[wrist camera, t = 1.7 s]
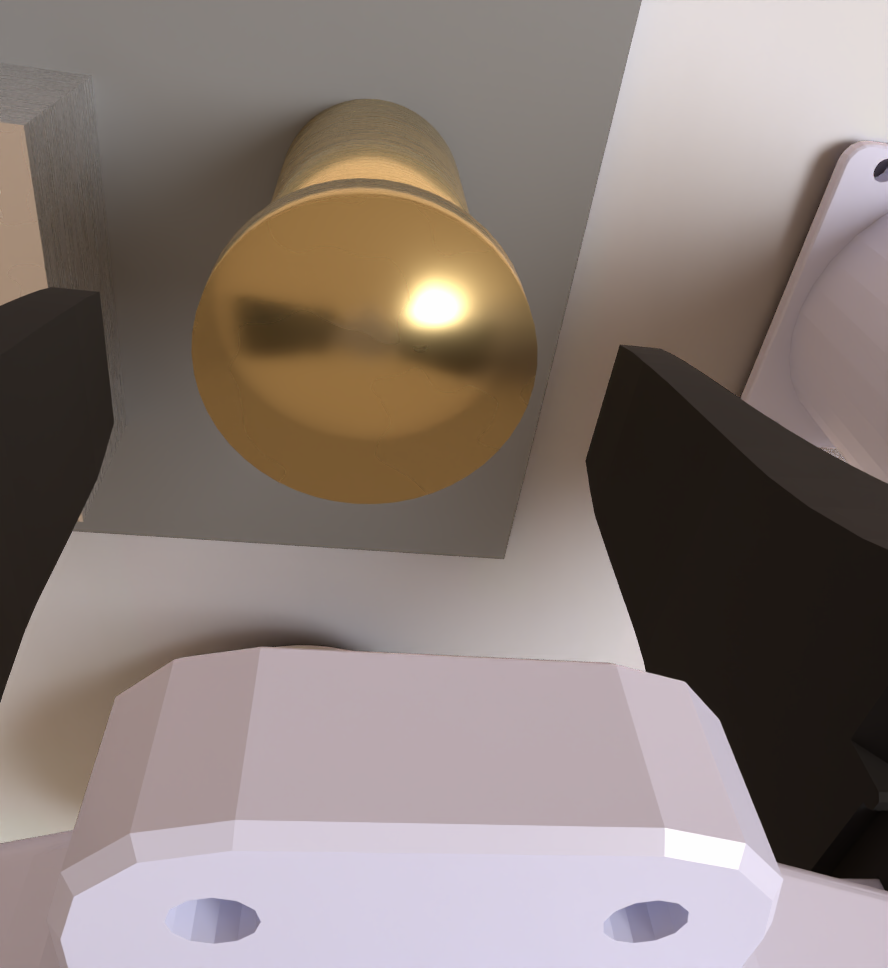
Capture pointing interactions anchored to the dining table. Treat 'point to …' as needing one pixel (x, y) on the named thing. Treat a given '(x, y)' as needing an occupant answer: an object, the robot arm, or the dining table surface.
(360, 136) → the brass door knob
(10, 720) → the dining table surface
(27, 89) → the block
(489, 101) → the mat
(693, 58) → the dining table surface
